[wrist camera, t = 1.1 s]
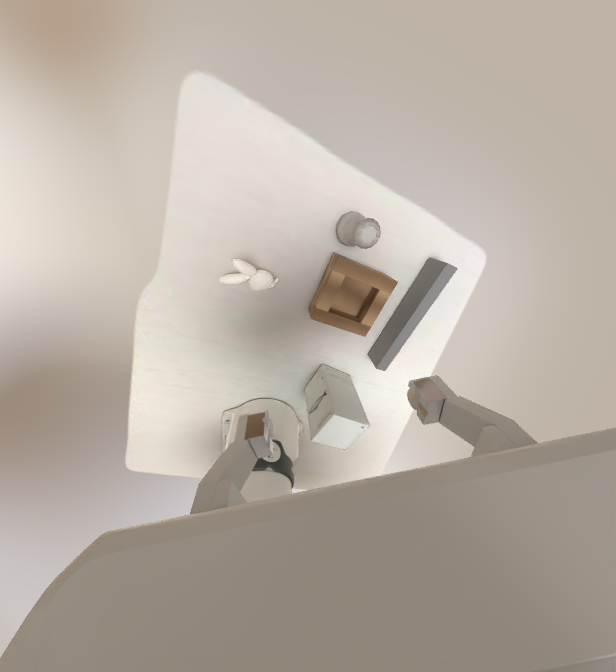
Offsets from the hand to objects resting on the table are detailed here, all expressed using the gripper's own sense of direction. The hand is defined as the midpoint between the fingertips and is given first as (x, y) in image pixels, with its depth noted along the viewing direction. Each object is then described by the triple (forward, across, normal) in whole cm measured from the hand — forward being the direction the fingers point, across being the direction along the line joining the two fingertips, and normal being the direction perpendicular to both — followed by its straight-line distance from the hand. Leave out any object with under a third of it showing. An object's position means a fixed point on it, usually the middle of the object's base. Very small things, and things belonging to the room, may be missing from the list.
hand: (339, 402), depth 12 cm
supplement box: (+26, -1, +23) cm, 35 cm away
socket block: (+26, -7, +4) cm, 27 cm away
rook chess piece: (+26, -8, -5) cm, 28 cm away
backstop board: (+26, -16, +10) cm, 32 cm away
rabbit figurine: (+26, +8, -2) cm, 27 cm away
